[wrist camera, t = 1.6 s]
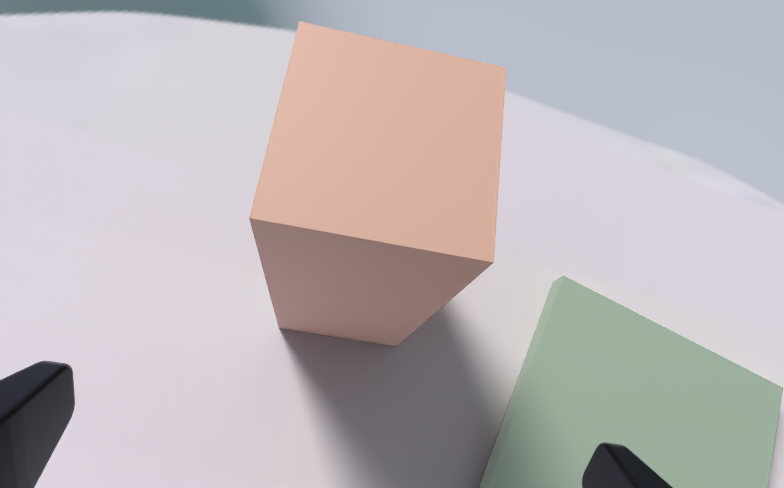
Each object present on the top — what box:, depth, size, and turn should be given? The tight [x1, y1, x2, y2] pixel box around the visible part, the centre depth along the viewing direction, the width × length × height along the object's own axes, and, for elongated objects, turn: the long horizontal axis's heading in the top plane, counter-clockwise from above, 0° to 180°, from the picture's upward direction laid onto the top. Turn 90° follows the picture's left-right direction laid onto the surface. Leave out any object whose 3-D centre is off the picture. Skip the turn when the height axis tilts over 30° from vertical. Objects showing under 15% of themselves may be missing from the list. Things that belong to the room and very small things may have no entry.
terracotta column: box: [249, 22, 506, 347], centre depth 17 cm, size 5×5×12 cm
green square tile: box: [479, 276, 783, 488], centre depth 21 cm, size 11×11×1 cm
